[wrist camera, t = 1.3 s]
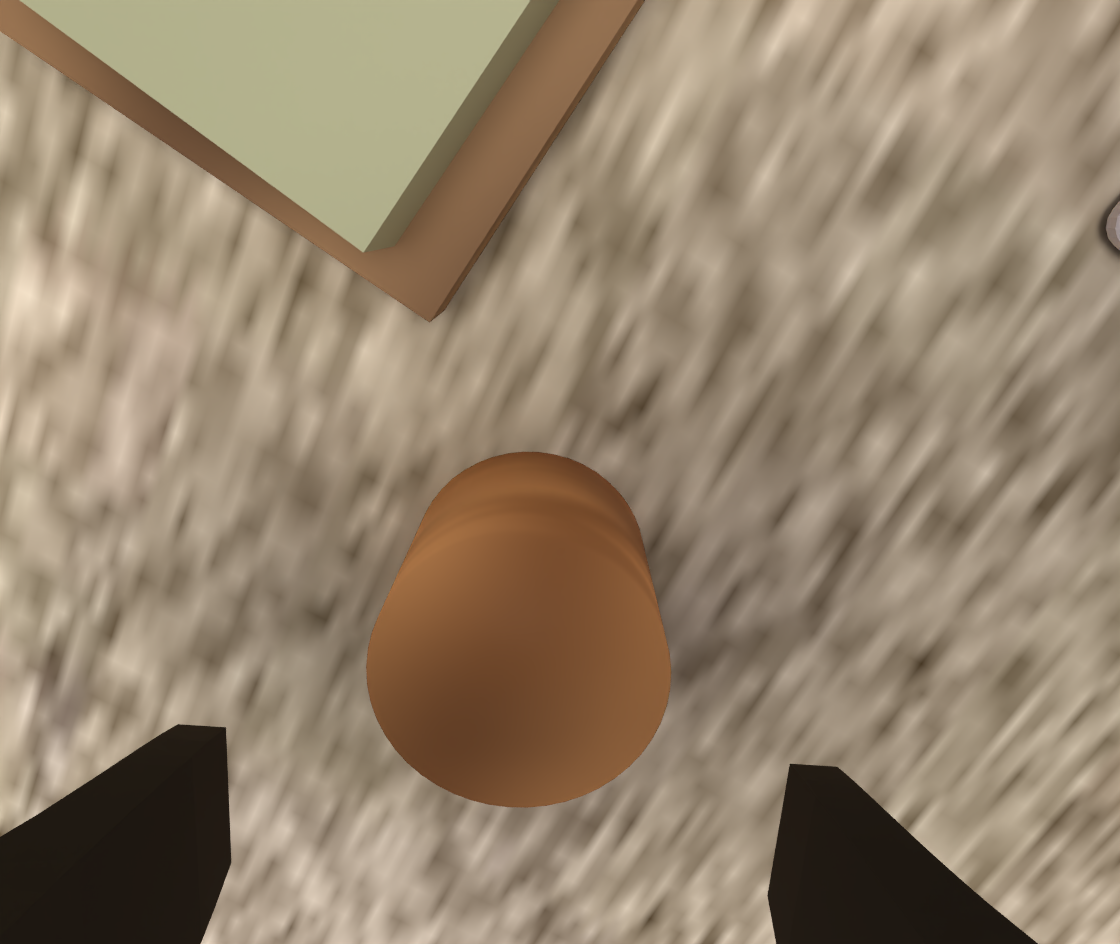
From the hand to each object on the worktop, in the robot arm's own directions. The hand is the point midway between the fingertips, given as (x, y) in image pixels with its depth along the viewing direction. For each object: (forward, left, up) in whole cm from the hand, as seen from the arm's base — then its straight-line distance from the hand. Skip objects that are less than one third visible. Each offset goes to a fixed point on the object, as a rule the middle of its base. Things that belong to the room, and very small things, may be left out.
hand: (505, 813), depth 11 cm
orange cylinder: (0, 0, -8) cm, 8 cm away
